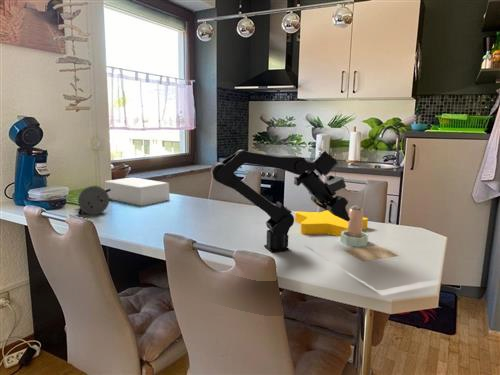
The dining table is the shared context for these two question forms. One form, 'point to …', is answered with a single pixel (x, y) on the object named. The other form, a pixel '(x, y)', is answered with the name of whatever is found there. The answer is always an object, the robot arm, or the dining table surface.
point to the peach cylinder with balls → (355, 222)
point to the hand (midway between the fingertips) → (342, 216)
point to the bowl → (354, 239)
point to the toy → (93, 200)
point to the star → (323, 223)
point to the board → (370, 253)
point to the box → (137, 191)
